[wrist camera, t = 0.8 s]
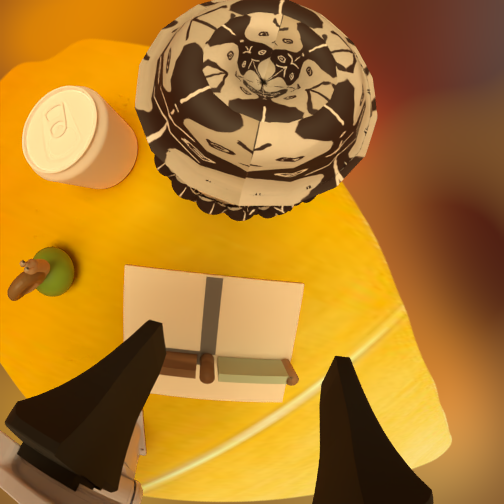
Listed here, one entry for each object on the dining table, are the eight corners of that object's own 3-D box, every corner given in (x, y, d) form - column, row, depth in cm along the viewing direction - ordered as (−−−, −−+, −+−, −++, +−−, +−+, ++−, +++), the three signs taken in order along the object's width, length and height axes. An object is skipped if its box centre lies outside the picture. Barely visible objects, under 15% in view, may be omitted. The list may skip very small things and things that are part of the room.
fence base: (213, 365, 34) (214, 384, 29) (124, 354, 32) (115, 371, 28) (214, 353, 33) (215, 372, 29) (124, 342, 32) (114, 358, 28)
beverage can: (87, 201, 30) (30, 198, 18) (67, 140, 28) (11, 114, 17) (149, 169, 30) (116, 147, 19) (126, 107, 29) (89, 62, 17)
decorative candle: (261, 222, 33) (399, 256, 8) (176, 207, 31) (70, 197, 7) (276, 142, 32) (413, 15, 7) (193, 126, 30) (164, -49, 6)
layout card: (281, 399, 36) (282, 402, 35) (127, 387, 33) (126, 389, 33) (303, 283, 34) (304, 284, 34) (126, 264, 31) (124, 265, 31)
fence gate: (217, 365, 33) (218, 383, 30) (217, 355, 33) (219, 372, 29) (288, 368, 35) (297, 385, 31) (290, 358, 35) (299, 374, 31)
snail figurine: (95, 265, 31) (43, 292, 19) (63, 298, 31) (9, 334, 19) (68, 229, 30) (8, 239, 18) (37, 263, 30) (-23, 285, 18)
